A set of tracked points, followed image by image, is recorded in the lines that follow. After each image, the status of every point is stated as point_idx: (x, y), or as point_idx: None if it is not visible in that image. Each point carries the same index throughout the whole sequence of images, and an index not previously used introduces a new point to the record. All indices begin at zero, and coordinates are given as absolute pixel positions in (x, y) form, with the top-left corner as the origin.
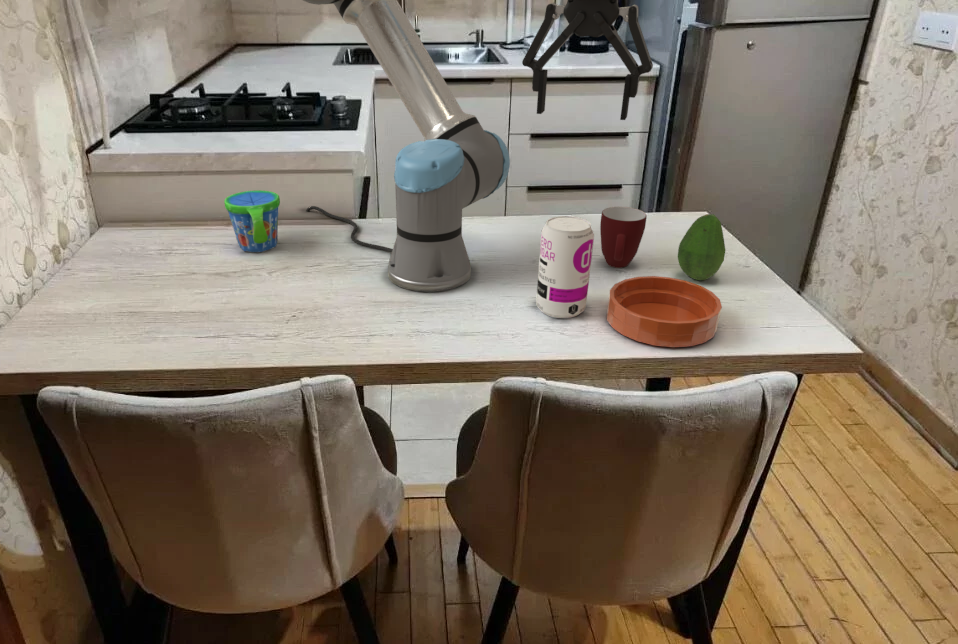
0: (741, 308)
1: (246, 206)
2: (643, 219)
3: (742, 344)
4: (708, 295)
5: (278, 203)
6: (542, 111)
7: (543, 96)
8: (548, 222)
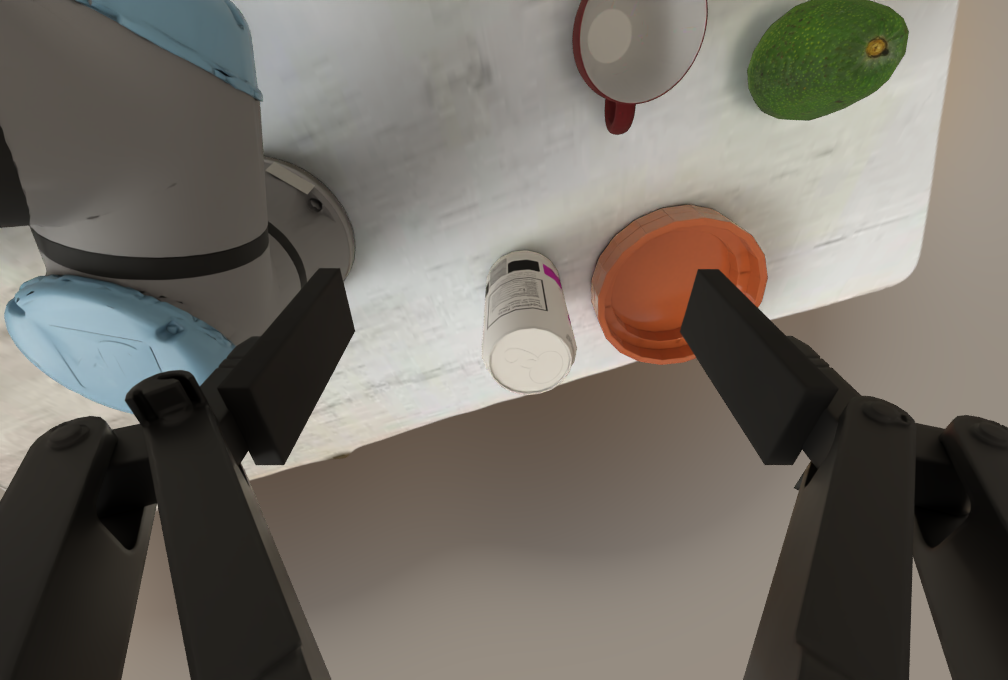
0: (813, 187)
1: None
2: (692, 62)
3: (766, 302)
4: (755, 258)
5: None
6: (348, 312)
7: (326, 349)
8: (492, 363)
